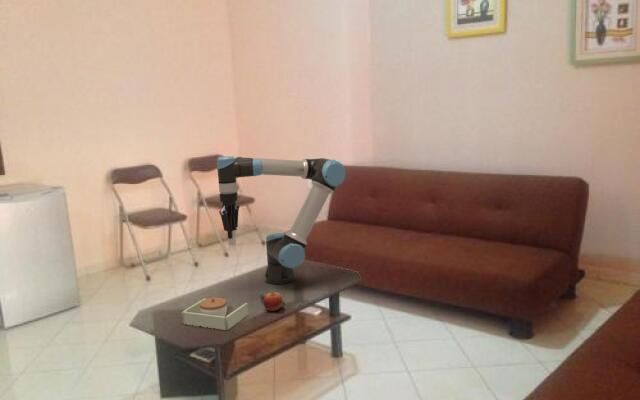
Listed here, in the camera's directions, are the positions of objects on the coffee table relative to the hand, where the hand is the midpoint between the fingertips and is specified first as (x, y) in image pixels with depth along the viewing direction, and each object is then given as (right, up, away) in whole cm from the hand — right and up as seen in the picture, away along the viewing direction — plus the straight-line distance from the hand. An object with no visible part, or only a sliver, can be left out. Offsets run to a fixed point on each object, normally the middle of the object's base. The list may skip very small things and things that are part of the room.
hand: (232, 245), depth 235 cm
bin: (-3, -28, -19) cm, 35 cm away
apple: (+19, -26, -12) cm, 35 cm away
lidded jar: (-4, -29, -20) cm, 36 cm away
